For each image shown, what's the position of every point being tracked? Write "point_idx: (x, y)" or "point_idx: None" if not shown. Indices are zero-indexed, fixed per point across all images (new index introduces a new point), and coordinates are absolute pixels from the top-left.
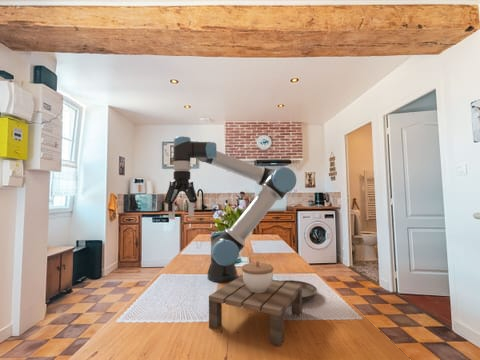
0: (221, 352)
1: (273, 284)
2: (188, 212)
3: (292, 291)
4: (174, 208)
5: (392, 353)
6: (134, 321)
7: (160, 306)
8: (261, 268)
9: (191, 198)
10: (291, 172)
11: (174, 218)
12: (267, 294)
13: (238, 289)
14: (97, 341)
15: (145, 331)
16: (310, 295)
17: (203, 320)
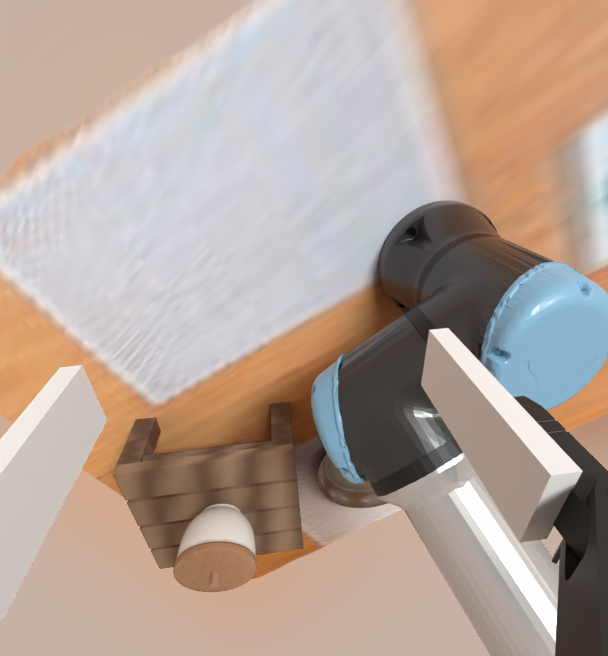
0: (96, 471)
1: (269, 521)
2: (451, 356)
3: None
4: (39, 539)
5: None
6: (7, 275)
7: (116, 260)
8: (203, 584)
9: (561, 636)
10: None
11: (100, 426)
12: None
13: (199, 488)
14: None
15: (13, 337)
16: (346, 506)
17: (148, 396)
